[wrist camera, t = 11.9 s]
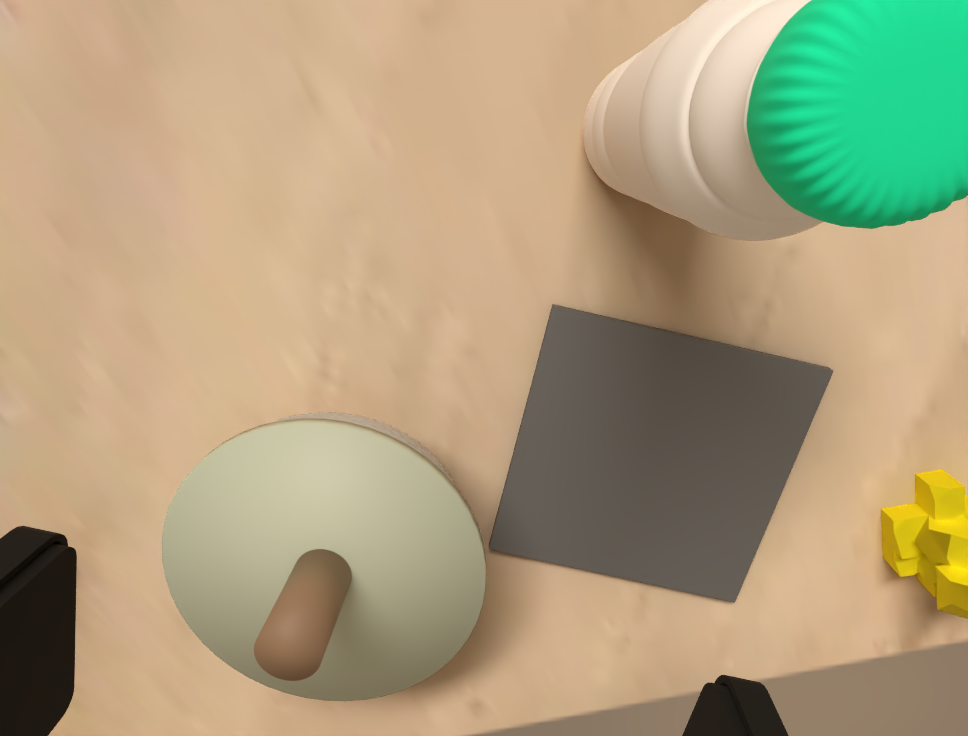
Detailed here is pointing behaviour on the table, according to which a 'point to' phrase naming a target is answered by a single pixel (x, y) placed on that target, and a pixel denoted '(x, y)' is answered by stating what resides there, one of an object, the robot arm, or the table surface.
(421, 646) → the lid
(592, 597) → the table surface
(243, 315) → the table surface
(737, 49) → the water bottle
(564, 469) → the mat
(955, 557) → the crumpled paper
